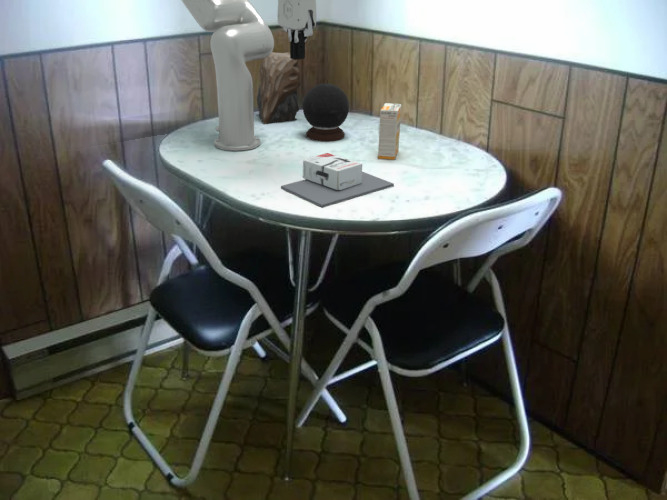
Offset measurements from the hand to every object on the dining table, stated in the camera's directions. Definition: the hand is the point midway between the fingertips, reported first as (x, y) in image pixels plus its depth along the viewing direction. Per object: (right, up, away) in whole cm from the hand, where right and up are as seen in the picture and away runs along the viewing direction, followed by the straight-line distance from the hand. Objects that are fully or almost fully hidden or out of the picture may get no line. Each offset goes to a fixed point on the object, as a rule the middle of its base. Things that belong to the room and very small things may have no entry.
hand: (297, 58), depth 167 cm
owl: (-10, -5, +50) cm, 52 cm away
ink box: (+4, -25, +1) cm, 26 cm away
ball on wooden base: (+6, -13, +35) cm, 38 cm away
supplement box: (+23, -21, +19) cm, 37 cm away
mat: (+10, -31, -4) cm, 33 cm away
